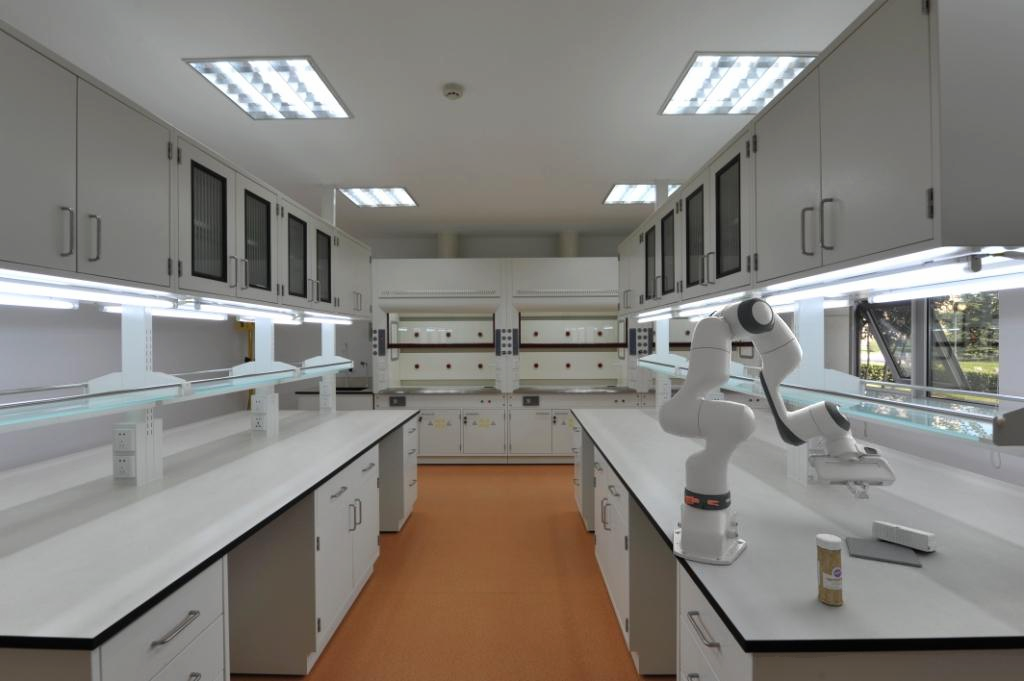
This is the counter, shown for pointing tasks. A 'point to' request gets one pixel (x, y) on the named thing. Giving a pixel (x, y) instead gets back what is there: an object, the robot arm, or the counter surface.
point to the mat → (882, 551)
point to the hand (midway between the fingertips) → (862, 498)
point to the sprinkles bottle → (829, 569)
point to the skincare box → (904, 536)
